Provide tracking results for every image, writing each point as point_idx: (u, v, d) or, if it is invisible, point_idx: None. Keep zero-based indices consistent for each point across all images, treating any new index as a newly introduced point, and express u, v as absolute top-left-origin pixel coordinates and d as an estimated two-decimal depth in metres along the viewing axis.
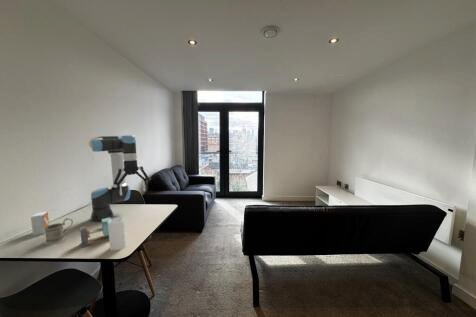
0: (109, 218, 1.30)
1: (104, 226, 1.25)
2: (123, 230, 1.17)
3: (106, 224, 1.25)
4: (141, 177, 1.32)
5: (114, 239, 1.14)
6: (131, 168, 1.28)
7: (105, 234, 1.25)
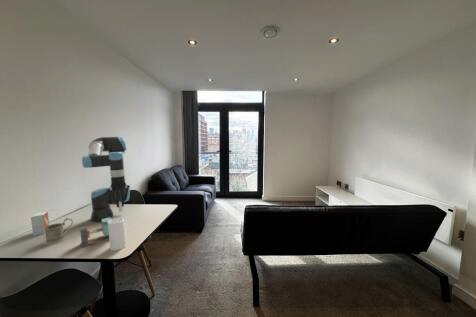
0: (109, 218, 1.30)
1: (104, 226, 1.25)
2: (123, 230, 1.17)
3: (106, 224, 1.25)
4: (121, 196, 1.31)
5: (114, 239, 1.14)
6: (118, 184, 1.30)
7: (105, 234, 1.25)
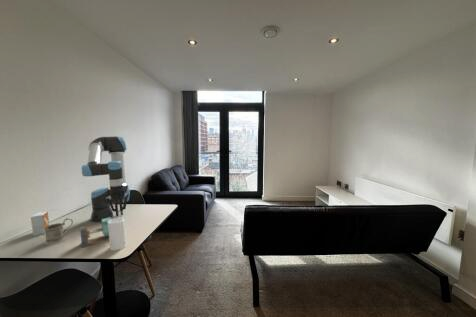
0: (109, 218, 1.30)
1: (104, 226, 1.25)
2: (123, 230, 1.17)
3: (106, 224, 1.25)
4: (120, 205, 1.32)
5: (114, 239, 1.14)
6: (117, 193, 1.30)
7: (105, 234, 1.25)
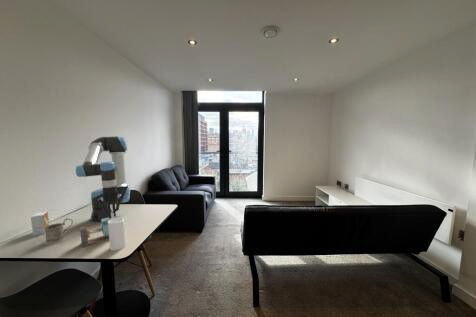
0: (109, 218, 1.30)
1: (104, 226, 1.24)
2: (123, 230, 1.17)
3: (106, 224, 1.25)
4: (113, 206, 1.29)
5: (114, 239, 1.14)
6: (110, 194, 1.28)
7: (105, 234, 1.25)
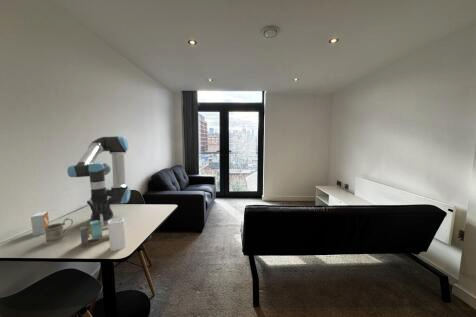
0: (98, 221, 1.26)
1: (92, 229, 1.21)
2: (123, 230, 1.17)
3: (94, 227, 1.21)
4: (102, 209, 1.25)
5: (114, 239, 1.14)
6: (99, 196, 1.24)
7: (93, 237, 1.21)
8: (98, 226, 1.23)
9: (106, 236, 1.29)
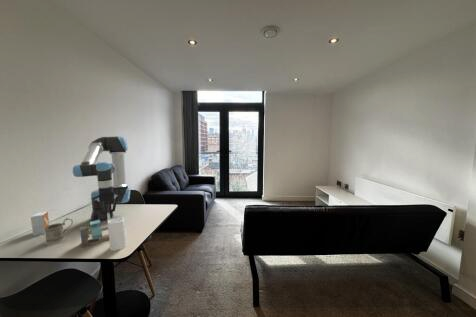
0: (98, 221, 1.26)
1: (92, 229, 1.21)
2: (123, 230, 1.17)
3: (94, 227, 1.21)
4: (109, 207, 1.28)
5: (114, 239, 1.14)
6: (106, 195, 1.26)
7: (93, 237, 1.21)
8: (98, 226, 1.23)
9: (106, 236, 1.29)
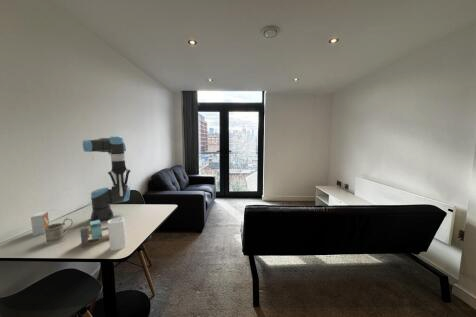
0: (98, 221, 1.26)
1: (92, 229, 1.21)
2: (123, 230, 1.17)
3: (94, 227, 1.21)
4: (122, 180, 1.33)
5: (114, 239, 1.14)
6: (119, 168, 1.32)
7: (93, 237, 1.21)
8: (98, 226, 1.23)
9: (106, 236, 1.29)
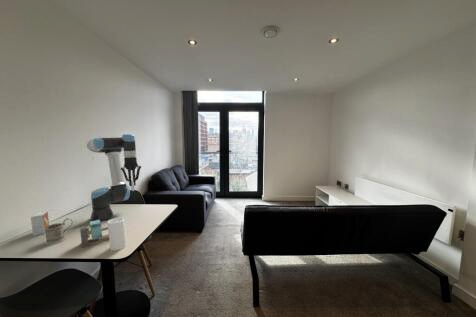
0: (98, 221, 1.26)
1: (92, 229, 1.21)
2: (123, 230, 1.17)
3: (94, 227, 1.21)
4: (133, 175, 1.41)
5: (114, 239, 1.14)
6: (131, 164, 1.39)
7: (93, 237, 1.21)
8: (98, 226, 1.23)
9: (106, 236, 1.29)
